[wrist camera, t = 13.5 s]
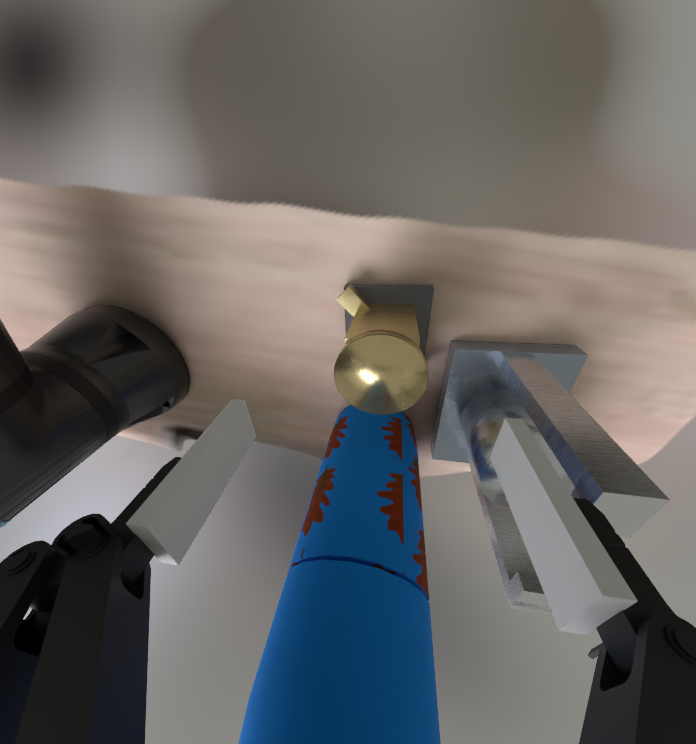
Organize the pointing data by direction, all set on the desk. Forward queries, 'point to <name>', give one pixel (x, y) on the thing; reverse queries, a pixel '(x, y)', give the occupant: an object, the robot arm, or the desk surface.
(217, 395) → the desk surface
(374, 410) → the brass cap
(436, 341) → the desk surface
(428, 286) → the rubber mat
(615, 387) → the desk surface
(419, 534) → the thermos
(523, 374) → the grey metal stand
